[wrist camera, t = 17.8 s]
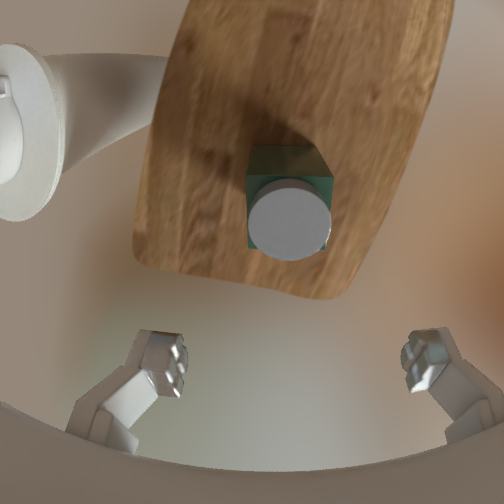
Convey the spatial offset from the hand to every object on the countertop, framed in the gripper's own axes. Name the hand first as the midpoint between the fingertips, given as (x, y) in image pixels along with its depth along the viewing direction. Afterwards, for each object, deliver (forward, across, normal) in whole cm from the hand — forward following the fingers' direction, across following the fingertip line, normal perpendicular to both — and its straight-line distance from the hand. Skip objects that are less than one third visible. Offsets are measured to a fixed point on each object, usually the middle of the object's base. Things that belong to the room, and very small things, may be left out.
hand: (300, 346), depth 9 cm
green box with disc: (+17, 0, +5) cm, 18 cm away
